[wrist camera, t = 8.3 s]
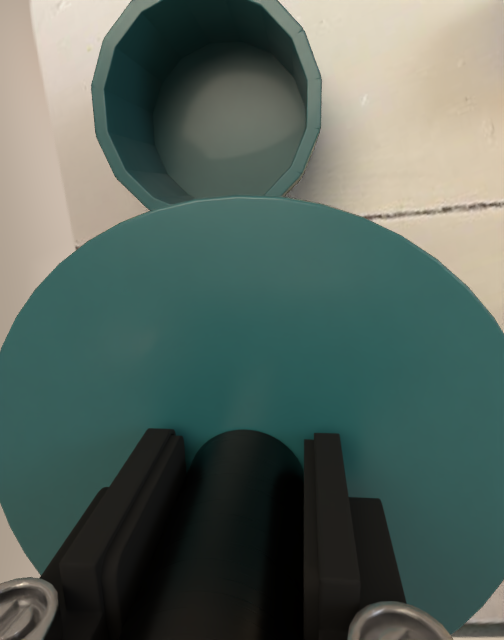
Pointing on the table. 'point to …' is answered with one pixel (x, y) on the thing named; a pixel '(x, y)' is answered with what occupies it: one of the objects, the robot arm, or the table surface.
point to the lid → (259, 406)
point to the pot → (206, 99)
